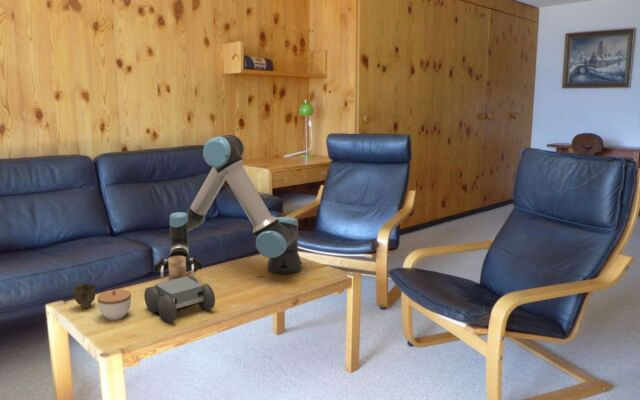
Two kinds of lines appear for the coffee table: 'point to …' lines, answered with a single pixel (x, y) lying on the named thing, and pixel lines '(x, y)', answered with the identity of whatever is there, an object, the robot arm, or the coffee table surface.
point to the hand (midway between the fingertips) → (177, 274)
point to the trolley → (178, 296)
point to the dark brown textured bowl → (84, 294)
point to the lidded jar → (114, 303)
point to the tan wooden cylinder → (177, 267)
